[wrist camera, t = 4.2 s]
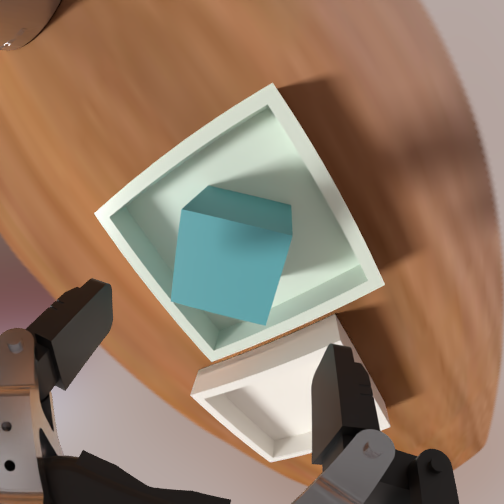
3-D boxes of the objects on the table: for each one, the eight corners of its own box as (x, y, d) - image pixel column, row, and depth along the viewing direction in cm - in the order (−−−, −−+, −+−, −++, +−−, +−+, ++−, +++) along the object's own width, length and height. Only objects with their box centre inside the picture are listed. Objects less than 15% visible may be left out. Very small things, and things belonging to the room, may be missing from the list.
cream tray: (198, 370, 25) (190, 395, 23) (335, 313, 22) (340, 340, 19) (272, 439, 29) (269, 462, 26) (384, 402, 25) (390, 426, 23)
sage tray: (117, 200, 20) (94, 213, 17) (274, 89, 16) (272, 82, 13) (219, 335, 24) (211, 361, 21) (373, 262, 20) (384, 284, 17)
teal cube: (195, 260, 20) (170, 301, 16) (208, 185, 18) (181, 209, 13) (270, 278, 20) (265, 325, 16) (291, 205, 18) (292, 235, 13)
